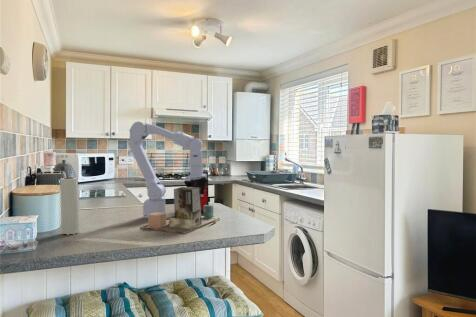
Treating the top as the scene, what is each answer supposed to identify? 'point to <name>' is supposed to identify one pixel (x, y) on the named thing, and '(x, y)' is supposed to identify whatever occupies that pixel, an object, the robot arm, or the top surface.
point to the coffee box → (188, 204)
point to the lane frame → (175, 231)
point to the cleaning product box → (205, 196)
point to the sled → (191, 223)
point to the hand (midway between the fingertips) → (196, 195)
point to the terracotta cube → (156, 220)
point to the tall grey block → (69, 205)
